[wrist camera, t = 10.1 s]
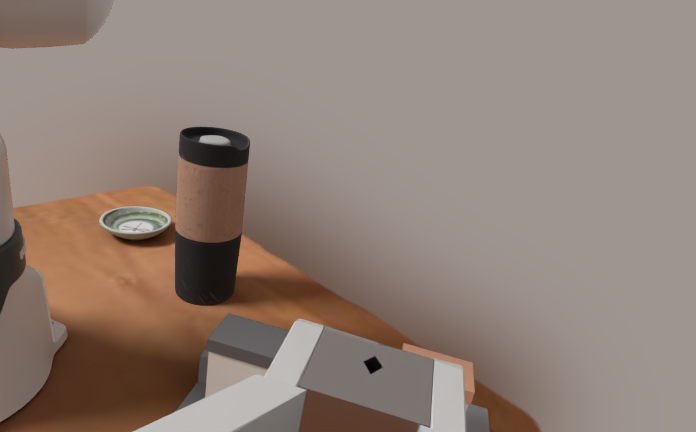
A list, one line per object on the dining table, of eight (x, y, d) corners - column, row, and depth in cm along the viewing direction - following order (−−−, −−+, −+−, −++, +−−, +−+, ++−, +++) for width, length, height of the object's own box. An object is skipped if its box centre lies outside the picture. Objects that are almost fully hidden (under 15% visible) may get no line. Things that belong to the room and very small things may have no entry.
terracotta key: (434, 502, 35) (474, 393, 31) (368, 481, 36) (399, 371, 31) (435, 467, 38) (472, 362, 34) (374, 448, 39) (403, 343, 34)
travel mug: (170, 274, 60) (176, 123, 52) (230, 272, 63) (243, 129, 55) (175, 309, 53) (181, 143, 46) (241, 304, 57) (257, 148, 49)
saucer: (173, 221, 74) (174, 207, 73) (167, 250, 66) (168, 235, 65) (107, 217, 71) (107, 202, 70) (92, 246, 63) (91, 231, 62)
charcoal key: (262, 475, 34) (280, 360, 30) (198, 454, 35) (207, 338, 31) (277, 442, 37) (295, 332, 33) (218, 422, 38) (228, 313, 34)
